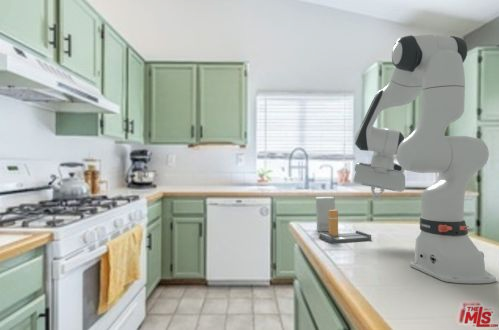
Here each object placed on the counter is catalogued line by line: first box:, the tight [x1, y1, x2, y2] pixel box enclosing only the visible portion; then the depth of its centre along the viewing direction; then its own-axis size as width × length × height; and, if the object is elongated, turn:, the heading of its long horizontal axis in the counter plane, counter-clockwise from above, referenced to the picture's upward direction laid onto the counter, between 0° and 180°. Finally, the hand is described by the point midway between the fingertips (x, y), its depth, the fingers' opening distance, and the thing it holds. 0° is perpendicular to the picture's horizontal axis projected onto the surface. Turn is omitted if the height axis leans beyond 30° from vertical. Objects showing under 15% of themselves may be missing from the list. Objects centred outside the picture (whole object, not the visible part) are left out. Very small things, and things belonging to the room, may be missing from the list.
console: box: [319, 230, 372, 244], centre depth 144 cm, size 18×10×2 cm, turn 104°
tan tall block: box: [326, 209, 339, 237], centre depth 142 cm, size 4×4×11 cm
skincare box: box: [315, 196, 336, 233], centre depth 163 cm, size 8×7×16 cm
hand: (376, 198), depth 144 cm, fingers closed
